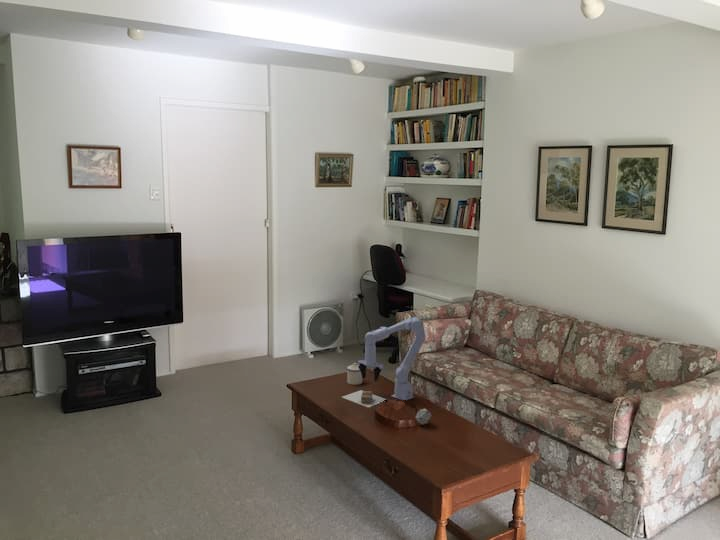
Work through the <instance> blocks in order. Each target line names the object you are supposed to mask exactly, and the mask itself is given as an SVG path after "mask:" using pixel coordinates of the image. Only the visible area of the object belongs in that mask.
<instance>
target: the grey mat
mask: <svg viewBox="0 0 720 540" xmlns="http://www.w3.org/2000/svg"><path fill="white" fill-rule="evenodd" d="M363 391H364V390H361V389H360V390H358V391H354V392H352V393H349V394H346V395H343V396H341V399H342V398H343V399H345V400H347V401H349V402H353V403H355V404H358V405H362V406H363V407H366V408H371V407H373V406H376V405H378V404H381V403H383V401H384V400H386V398H385V397H384V398H383V397H381V396H379V395H376V394H373V393H372V401H371V404H365V403H361V396H362V393H363ZM380 402H381V403H380ZM384 402H385V401H384Z"/></svg>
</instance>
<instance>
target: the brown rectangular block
mask: <svg viewBox="0 0 720 540" xmlns="http://www.w3.org/2000/svg"><path fill="white" fill-rule="evenodd" d="M362 391H363V393H362V396H361V403H365V404H371V401H372V394H373V391H364V390H362Z"/></svg>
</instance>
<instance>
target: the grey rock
mask: <svg viewBox="0 0 720 540" xmlns="http://www.w3.org/2000/svg"><path fill="white" fill-rule="evenodd" d="M432 416H434V414H432V413H431V412H430V411H429V410H428V408H427V406H425V408H421V409H419V408H417V412H416V414H415V417H413V418H412V419H413V420H416V421H417V422H418V424H419V425H420V427H422V426H423V425H427V424H428V425H430V423H431V420H432V419H431V418H432Z"/></svg>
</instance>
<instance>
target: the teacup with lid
mask: <svg viewBox="0 0 720 540" xmlns="http://www.w3.org/2000/svg"><path fill="white" fill-rule="evenodd" d="M358 366H359V364H358V362H353V364H350V365H348V366H347V368H346V371H347V373H346V374H347V375H346V377H347V379H346V382H347V384H350V385H353V386H354V385H355V386H356V385H361V384H363V378H362V374H361V371H360V369H359V368H358Z"/></svg>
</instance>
